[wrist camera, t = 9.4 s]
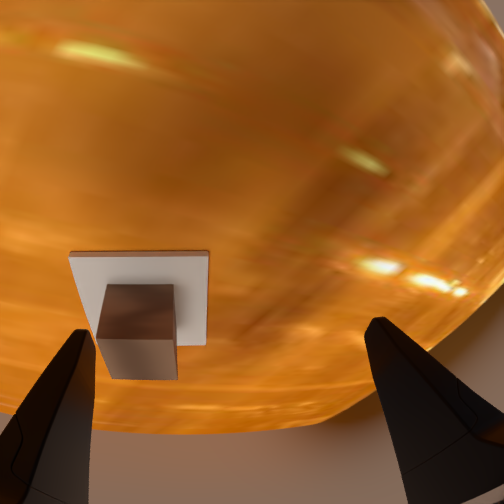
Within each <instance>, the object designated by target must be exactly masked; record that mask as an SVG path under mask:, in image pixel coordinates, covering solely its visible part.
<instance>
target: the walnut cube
mask: <svg viewBox="0 0 504 504" xmlns="http://www.w3.org/2000/svg"><path fill="white" fill-rule="evenodd" d="M96 341H97V344H98V346H99V349H100V351H101V354H102V356H103V359H104V361H105V363H106V366H107V368H108V370H109V373H110V375H111V377H112V379H131V380H178V371H177V326H176V314H175V300H174V285H173V284H107V286H106V290H105V295H104V299H103V304H102V308H101V313H100V318H99V323H98V328H97V333H96Z"/></svg>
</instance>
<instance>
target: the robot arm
mask: <svg viewBox="0 0 504 504" xmlns="http://www.w3.org/2000/svg"><path fill="white" fill-rule="evenodd" d="M364 340H365V344H366V349H367V353H368V358H369V362H370V367H371V372H372V376H373V379H374V383H375V386H376V389H377V392H378V395H379V399H380V402H381V405H382V408H383V411H384V415H385V418H386V422H387V425H388V428H389V432H390V435H391V439H392V442H393V446H394V450H395V453H396V457H397V461H398V464H399V468H400V471H401V475H402V480H403V484H404V488H405V492H406V496H407V500H408V504H504V413H502V412H501V411H500V410H498V409H497V408H495V407H494V406H493V405H491V404H490V403H488V402H487V401H486V400H484V399H483V398H482V397H480V396H479V395H478V394H476V393H475V392H474V391H473V390H471V389H470V388H469V387H468V386H467V385H465V384H464V383H463V382H462V381H461V380H459V379H458V378H456V376H455V375H454V374H453V373H451V372H450V371H449V370H448V369H447V368H445V367H444V366H443V365H442V364H441V363H440V362H438V361H437V360H436V359H435V358H434V357H432V356H431V355H430V354H429V353H428V352H427V351H425V350H424V349H423V348H422V347H421V346H420V345H418V344H417V343H416V342H415V341H414V340H412V339H411V338H410V337H409V336H408V335H406V334H405V333H404V332H403V331H401V330H400V329H399V328H398V327H397V326H395V325H394V324H393V323H392V322H391V321H389V320H388V319H387V318H385V317H375V318H373V319H372V320H371V322H370V324H369V326H368V328H367V330H366V332H365V335H364ZM95 359H96V349H95V345H94V342H93V340H92V337H91V335H90V332H89V331H88V330H87V329H76V330H74V331H73V333H72V334H71V335H70V337H69V338H68V339H67V340H66V342H65V343H64V344H63V346H62V347H61V348H60V350H59V351H58V352H57V354H56V355H55V356H54V358H53V359H52V361H51V362H50V363H49V365H48V366H47V367H46V369H45V370H44V372H43V373H42V374H41V376H40V377H39V379H38V380H37V381H36V383H35V384H34V386H33V387H32V389H31V390H30V392H29V393H28V394H27V396H26V397H25V399H24V400H23V402H22V403H21V405H20V406H19V408H18V409H17V411H16V414H14V415H13V417H12V419H11V420H10V421H9V423H8V424H7V426H6V427H5V429H4V430H3V432H2V434H1V435H0V504H88V491H89V490H88V489H89V488H88V487H89V460H90V442H91V430H92V419H93V409H94V399H95Z"/></svg>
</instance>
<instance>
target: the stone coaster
mask: <svg viewBox="0 0 504 504" xmlns="http://www.w3.org/2000/svg"><path fill="white" fill-rule="evenodd" d="M68 258H69V262H70V265H71V269H72V272H73V276H74V279H75V282H76V286H77V289H78V292H79V295H80V298H81V301H82V304H83V307H84V310H85V313H86V316H87V319H88V321H89V324H90V327H91V330H92V332H93V335H94V337H95V340H96V333H97V328H98V323H99V318H100V313H101V308H102V304H103V299H104V295H105V290H106V286H107V284H173V285H174V300H175V314H176V326H177V346H180V345H206V321H207V285H208V258H209V255H208V251H125V252H70V254H69V257H68ZM96 343H97V341H96Z"/></svg>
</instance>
